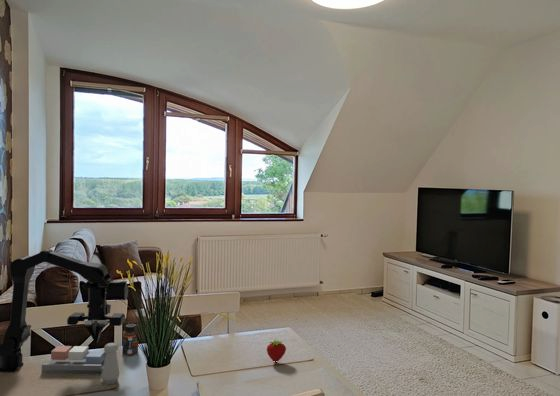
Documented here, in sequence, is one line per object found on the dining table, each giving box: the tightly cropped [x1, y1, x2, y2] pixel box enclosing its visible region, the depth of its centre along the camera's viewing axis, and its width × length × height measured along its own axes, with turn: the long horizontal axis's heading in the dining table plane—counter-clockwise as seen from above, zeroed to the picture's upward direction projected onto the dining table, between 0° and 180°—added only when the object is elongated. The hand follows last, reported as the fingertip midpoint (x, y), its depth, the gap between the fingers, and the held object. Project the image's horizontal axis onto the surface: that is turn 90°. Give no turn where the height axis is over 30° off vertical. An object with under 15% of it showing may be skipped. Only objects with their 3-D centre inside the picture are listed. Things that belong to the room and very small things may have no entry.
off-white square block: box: [68, 345, 89, 360], centre depth 154 cm, size 5×5×3 cm
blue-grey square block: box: [86, 350, 105, 364], centre depth 154 cm, size 5×5×3 cm
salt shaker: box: [100, 342, 121, 386], centre depth 144 cm, size 6×6×13 cm
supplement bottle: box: [121, 323, 139, 357], centre depth 167 cm, size 6×6×11 cm
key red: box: [50, 345, 73, 361], centre depth 154 cm, size 5×5×3 cm
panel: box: [41, 350, 106, 376], centre depth 154 cm, size 20×12×3 cm, turn 93°
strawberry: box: [266, 338, 287, 362], centre depth 164 cm, size 6×8×10 cm
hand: (96, 342), depth 154 cm, fingers closed
